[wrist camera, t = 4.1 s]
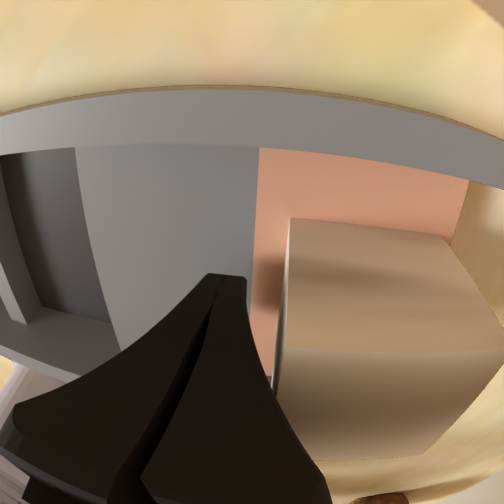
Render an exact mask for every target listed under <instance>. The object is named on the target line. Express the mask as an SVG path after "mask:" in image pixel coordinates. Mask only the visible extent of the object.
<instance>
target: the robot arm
mask: <svg viewBox="0 0 504 504" xmlns="http://www.w3.org/2000/svg"><path fill="white" fill-rule="evenodd" d="M246 299H247V279H246V278H245V277H243V276H234V275H224V274H215V273H207V274H206V275H205V276H204V277H203V278H202V279H201V280H200V281H199V282H198V283H197V285H196V286H195V287H194V288H193V289H192V290H191V291H190V292H189V293H188V294H187V295H186V296H185V297H184V298H183V299H182V300H181V301H180V302H179V303H178V304H177V305H176V306H175V307H174V308H173V309H172V310H171V311H170V312H169V313H168V314H167V315H166V316H165V317H164V318H163V319H161V320H160V321H159V322H158V323H157V324H156V325H155V326H153V327H152V328H151V329H150V330H149V331H148V332H147V333H145V334H144V335H143V336H142V337H140V338H139V339H138V340H137V341H135V342H134V343H133V344H131V345H130V346H129V347H127V348H126V349H124V350H123V351H122V352H120V353H119V354H117V355H116V356H114V357H113V358H111V359H110V360H108V361H107V362H105V363H103V364H102V365H100V366H98V367H97V368H95V369H93V370H92V371H90V372H88V373H87V374H85V375H83V376H81V377H79V378H77V379H75V380H73V381H71V382H69V383H66V382H63V381H60V380H58V379H55V378H52V377H50V376H47V375H45V374H42V373H40V372H37V371H35V370H33V369H30V368H28V367H26V366H23V365H21V364H19V363H17V362H14V361H12V360H11V361H12V363H13V364H14V366H15V368H14V370H13V371H12V373H11V375H10V376H9V378H8V379H7V381H6V382H5V384H4V385H3V387H2V389H1V390H0V504H333V503H332V499H331V496H330V492H329V489H328V487H327V484H326V481H325V478H324V476H323V474H322V473H321V471H320V470H319V469H318V467H317V466H316V464H315V463H314V462H313V460H312V459H311V457H310V456H309V454H308V453H307V451H306V450H305V448H304V447H303V445H302V444H301V442H300V440H299V439H298V437H297V436H296V434H295V432H294V431H293V429H292V427H291V426H290V424H289V422H288V420H287V418H286V416H285V414H284V412H283V410H282V409H281V407H280V405H279V403H278V401H277V399H276V397H275V395H274V393H273V390H272V388H271V386H270V384H269V381H268V379H267V376H266V374H265V371H264V369H263V366H262V364H261V361H260V358H259V355H258V352H257V349H256V345H255V342H254V338H253V335H252V331H251V326H250V321H249V317H248V311H247V303H246Z"/></svg>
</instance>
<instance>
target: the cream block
mask: <svg viewBox="0 0 504 504" xmlns="http://www.w3.org/2000/svg"><path fill="white" fill-rule="evenodd" d="M503 364H504V329H503V327H502V325H501V324H500V322H499V320H498V319H497V317H496V315H495V313H494V312H493V310H492V309H491V307H490V305H489V304H488V302H487V300H486V299H485V297H484V296H483V294H482V293H481V291H480V290H479V288H478V286H477V285H476V283H475V282H474V280H473V279H472V277H471V276H470V275H469V273H468V272H467V270H466V269H465V267H464V266H463V265H462V263H461V262H460V260H459V259H458V258H457V256H456V255H455V253H454V252H453V251H452V249H451V248H450V247H449V245H448V244H447V243H446V241H445V240H444V239H443V237H442V236H441V235H436V234H429V233H421V232H414V231H406V230H399V229H391V228H383V227H374V226H366V225H357V224H349V223H339V222H330V221H321V220H311V219H301V218H291V217H290V220H289V229H288V238H287V247H286V256H285V265H284V274H283V282H282V290H281V298H280V306H279V314H278V322H277V329H276V337H275V348H274V360H273V371H272V382H271V388H272V390H273V393H274V395H275V397H276V399H277V401H278V403H279V405H280V407H281V409H282V410H283V412H284V414H285V416H286V418H287V420H288V422H289V424H290V426H291V427H292V429H293V431H294V432H295V434H296V436H297V437H298V439H299V440H300V442H301V444H302V445H303V447H304V448H305V450H306V451H307V453H308V454H309V456H310V457H311V459H312V460H321V461H336V460H366V459H381V458H393V457H402V456H411V455H419V454H423V453H424V452H425V451H426V450H427V449H428V448H429V447H430V446H431V445H432V444H433V443H435V442H436V441H437V440H438V439H439V438H440V437H441V436H442V435H443V434H444V433H445V432H446V431H447V430H448V429H449V428H450V427H451V426H452V425H453V424H454V422H455V421H456V420H457V419H458V418H459V417H460V416H461V415H462V414H463V413H464V412H465V411H466V409H467V408H468V407H469V406H470V405H471V404H472V403H473V401H474V400H475V399H476V398H477V397H478V396H479V394H480V393H481V392H482V391H483V390H484V388H485V387H486V386H487V385H488V383H489V382H490V381H491V380H492V378H493V377H494V376H495V374H496V373H497V372H498V370H499V369H500V368H501V366H502V365H503Z"/></svg>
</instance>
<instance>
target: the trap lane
mask: <svg viewBox="0 0 504 504" xmlns="http://www.w3.org/2000/svg"><path fill="white" fill-rule="evenodd" d="M469 181H473V182H477V183H481V184H485V185H489V186H492V187H496V188H499V189H503V190H504V140H502V139H500V138H498V137H495V136H493V135H491V134H488V133H486V132H483V131H481V130H479V129H476V128H474V127H471V126H468V125H466V124H463V123H460V122H458V121H455V120H452V119H449V118H446V117H442V116H439V115H435V114H431V113H428V112H424V111H420V110H416V109H412V108H408V107H403V106H399V105H395V104H390V103H385V102H380V101H375V100H370V99H365V98H359V97H353V96H347V95H340V94H334V93H326V92H319V91H310V90H301V89H291V88H279V87H264V86H243V85H183V86H162V87H147V88H136V89H126V90H117V91H108V92H101V93H94V94H87V95H81V96H75V97H69V98H64V99H59V100H54V101H49V102H44V103H40V104H35V105H31V106H27V107H23V108H19V109H15V110H11V111H8V112H4V113H1V114H0V355H2V356H4V357H6V358H8V359H10V360H12V361H14V362H17V363H19V364H21V365H23V366H26V367H28V368H30V369H33V370H35V371H37V372H40V373H42V374H45V375H47V376H50V377H52V378H55V379H58V380H60V381H63V382H66V383H69V382H71V381H73V380H75V379H77V378H79V377H81V376H83V375H85V374H87V373H88V372H90V371H92V370H93V369H95V368H97V367H98V366H100V365H102V364H103V363H105V362H107V361H108V360H110V359H111V358H113V357H114V356H116V355H117V354H119V353H120V352H122V351H123V350H124V349H126V348H127V347H129V346H130V345H131V344H133V343H134V342H135V341H137V340H138V339H139V338H140V337H142V336H143V335H144V334H145V333H147V332H148V331H149V330H150V329H151V328H152V327H153V326H155V325H156V324H157V323H158V322H159V321H160V320H161V319H163V318H164V317H165V316H166V315H167V314H168V313H169V312H170V311H171V310H172V309H173V308H174V307H175V306H176V305H177V304H178V303H179V302H180V301H181V300H182V299H183V298H184V297H185V296H186V295H187V294H188V293H189V292H190V291H191V290H192V289H193V288H194V287H195V286H196V285H197V283H198V282H199V281H200V280H201V279H202V278H203V277H204V276H205V275H206V274H207V273H215V274H224V275H234V276H243V277H245V278H246V279H247V299H246V303H247V311H248V317H249V321H250V326H251V331H252V335H253V338H254V342H255V345H256V349H257V352H258V355H259V358H260V361H261V364H262V366H263V369H264V371H265V374H266V376H267V379H268V381H269V384H270V386H271V382H272V371H273V360H274V348H275V337H276V329H277V322H278V314H279V306H280V298H281V290H282V282H283V274H284V265H285V256H286V247H287V238H288V229H289V220H290V217H291V218H301V219H311V220H321V221H330V222H339V223H349V224H357V225H366V226H374V227H383V228H391V229H399V230H406V231H414V232H421V233H429V234H436V235H441V236H442V237H443V239H444V240H445V241H446V243H447V244H448V245H449V246H450V244H451V241H452V238H453V235H454V232H455V229H456V226H457V222H458V219H459V216H460V213H461V209H462V206H463V203H464V199H465V195H466V192H467V188H468V184H469Z"/></svg>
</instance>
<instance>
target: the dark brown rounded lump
mask: <svg viewBox="0 0 504 504" xmlns="http://www.w3.org/2000/svg"><path fill="white" fill-rule="evenodd" d="M350 504H409V502H408V500H407V498H406V497H405V495H404V494H403V493H388V494H380V495H375V496H369V497H365V498H360V499H356V500H355V501H353V502H351V503H350Z"/></svg>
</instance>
